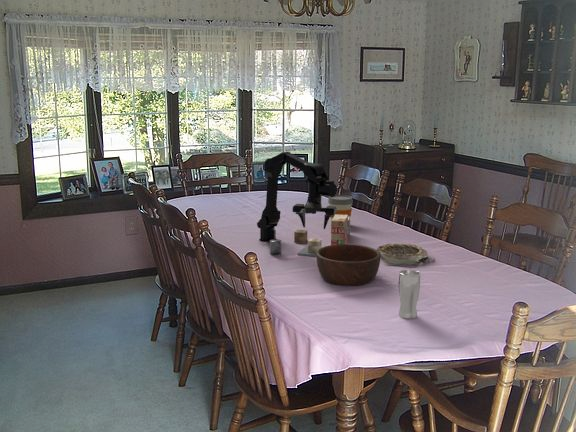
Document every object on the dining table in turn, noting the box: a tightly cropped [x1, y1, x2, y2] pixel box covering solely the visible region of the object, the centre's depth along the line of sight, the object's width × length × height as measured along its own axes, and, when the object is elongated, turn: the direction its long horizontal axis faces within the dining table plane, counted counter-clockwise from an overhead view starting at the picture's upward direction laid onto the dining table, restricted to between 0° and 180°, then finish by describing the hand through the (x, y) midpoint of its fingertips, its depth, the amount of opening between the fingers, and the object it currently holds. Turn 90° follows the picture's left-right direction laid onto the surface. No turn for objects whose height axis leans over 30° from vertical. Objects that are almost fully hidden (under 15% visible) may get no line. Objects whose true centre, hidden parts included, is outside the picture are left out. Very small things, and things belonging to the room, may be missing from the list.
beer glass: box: [398, 269, 421, 320], centre depth 205 cm, size 7×7×15 cm
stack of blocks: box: [330, 214, 351, 245], centre depth 296 cm, size 21×6×12 cm, turn 167°
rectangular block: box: [293, 229, 308, 244], centre depth 295 cm, size 5×5×5 cm
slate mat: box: [297, 245, 322, 258], centre depth 278 cm, size 12×12×1 cm
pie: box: [376, 243, 436, 268], centre depth 270 cm, size 28×27×5 cm
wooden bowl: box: [315, 243, 382, 287], centre depth 244 cm, size 25×25×10 cm
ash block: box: [307, 237, 323, 252], centre depth 277 cm, size 5×5×5 cm
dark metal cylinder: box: [269, 238, 282, 256], centre depth 275 cm, size 5×5×6 cm
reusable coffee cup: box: [327, 194, 353, 221], centre depth 323 cm, size 13×13×15 cm
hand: (314, 228), depth 276 cm, fingers open, 9 cm apart
